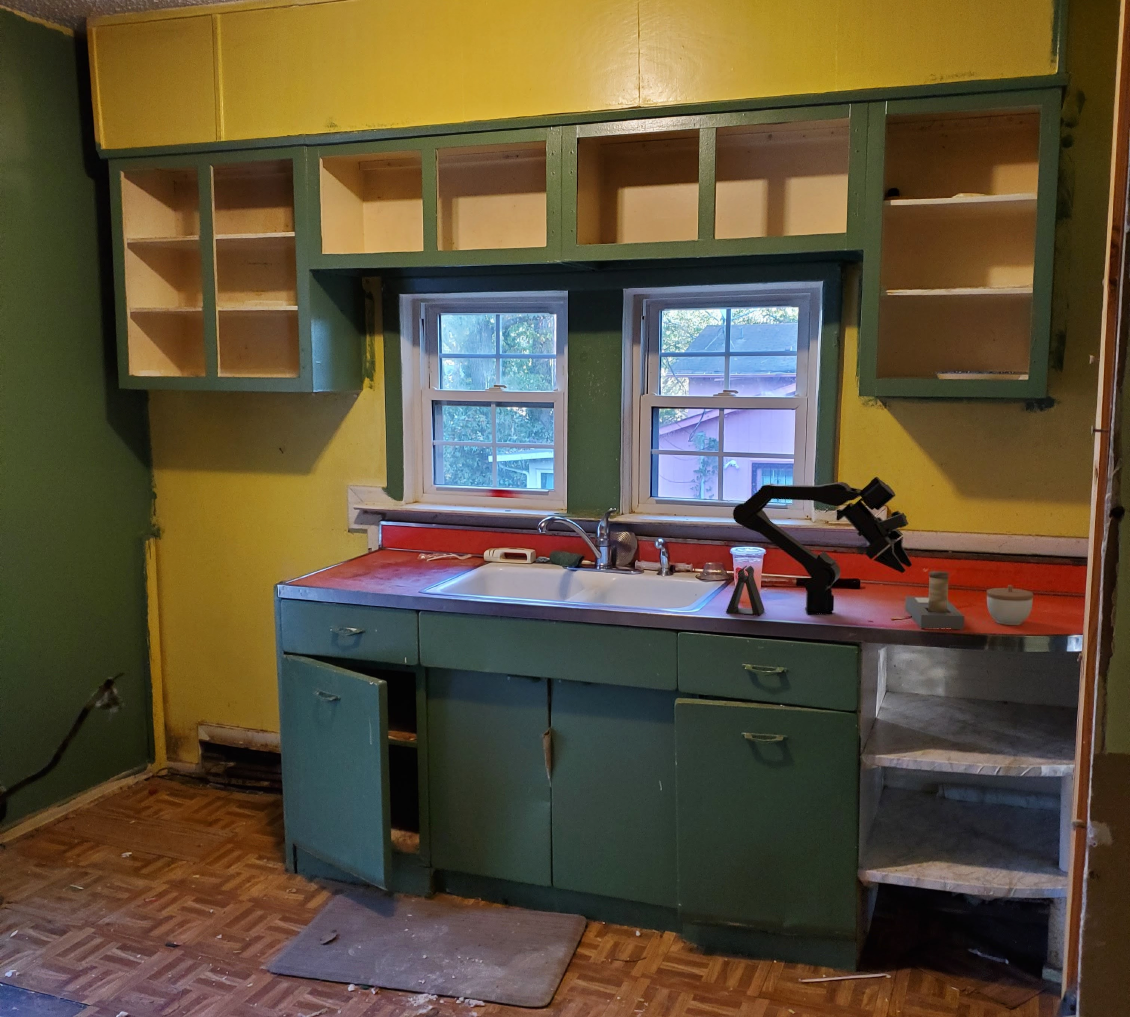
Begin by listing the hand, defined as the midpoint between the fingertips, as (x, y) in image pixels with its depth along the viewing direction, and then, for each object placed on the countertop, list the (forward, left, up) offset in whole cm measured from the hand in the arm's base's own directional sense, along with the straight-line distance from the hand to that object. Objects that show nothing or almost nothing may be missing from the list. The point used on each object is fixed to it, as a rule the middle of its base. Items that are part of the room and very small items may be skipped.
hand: (907, 568), depth 264 cm
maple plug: (+7, -3, -13) cm, 15 cm away
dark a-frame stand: (-40, +5, -14) cm, 42 cm away
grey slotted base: (+7, +2, -13) cm, 15 cm away
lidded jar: (+25, +1, -14) cm, 29 cm away
